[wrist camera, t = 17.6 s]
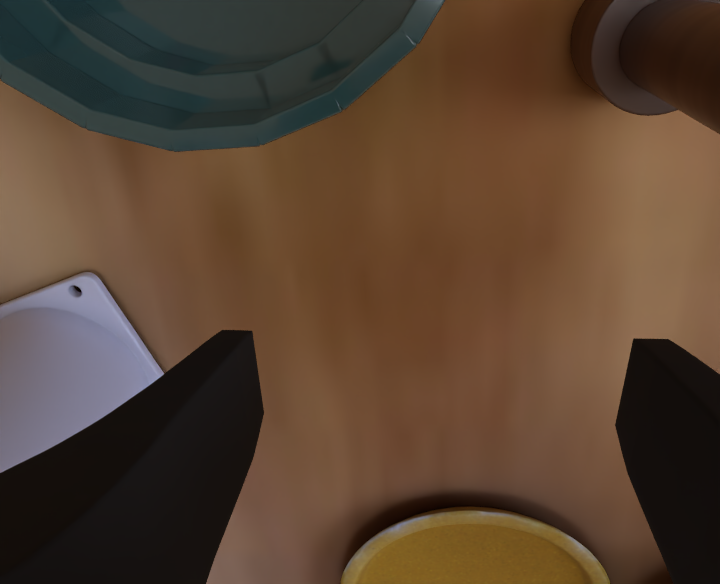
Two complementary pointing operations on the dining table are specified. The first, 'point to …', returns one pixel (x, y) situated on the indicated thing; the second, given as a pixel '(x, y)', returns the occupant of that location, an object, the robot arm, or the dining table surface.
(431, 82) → the dining table surface
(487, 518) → the tableware set
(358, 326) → the dining table surface
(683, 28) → the muddler
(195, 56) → the bowl
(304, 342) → the dining table surface
